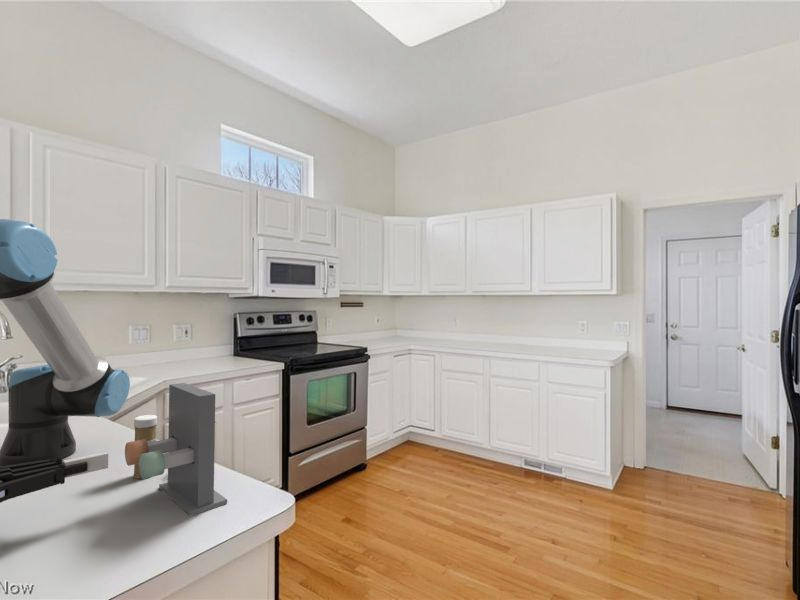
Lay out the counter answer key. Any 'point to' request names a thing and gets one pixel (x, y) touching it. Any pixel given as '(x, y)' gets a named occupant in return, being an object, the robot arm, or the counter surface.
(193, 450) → the sage button
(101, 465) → the robot arm
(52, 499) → the counter surface
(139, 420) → the spice jar
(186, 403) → the button panel
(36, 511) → the counter surface
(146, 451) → the rust button
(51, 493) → the counter surface
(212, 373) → the counter surface
